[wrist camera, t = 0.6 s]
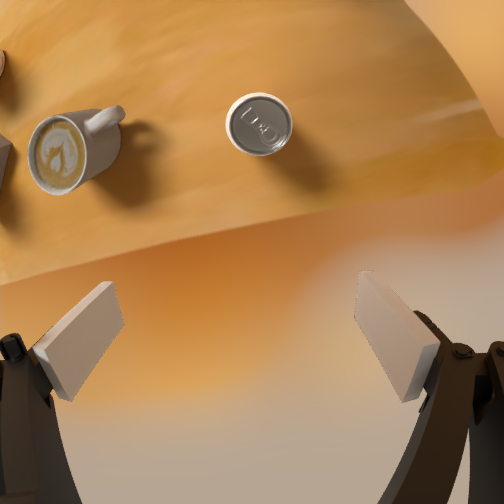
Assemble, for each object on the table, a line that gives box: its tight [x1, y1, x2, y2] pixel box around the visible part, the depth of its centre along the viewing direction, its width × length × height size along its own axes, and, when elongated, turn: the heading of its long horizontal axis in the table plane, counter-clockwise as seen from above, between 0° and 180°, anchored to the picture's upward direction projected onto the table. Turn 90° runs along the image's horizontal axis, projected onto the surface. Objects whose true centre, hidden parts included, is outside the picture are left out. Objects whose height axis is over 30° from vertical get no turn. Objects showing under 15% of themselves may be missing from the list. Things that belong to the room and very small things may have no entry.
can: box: [226, 93, 293, 156], centre depth 28 cm, size 6×6×12 cm
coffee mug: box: [28, 106, 125, 195], centre depth 28 cm, size 13×10×10 cm
